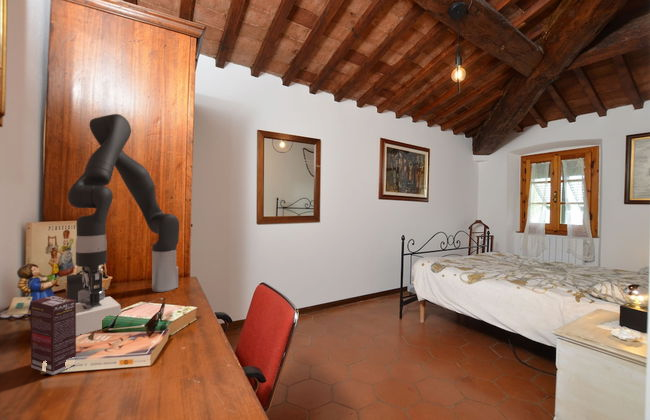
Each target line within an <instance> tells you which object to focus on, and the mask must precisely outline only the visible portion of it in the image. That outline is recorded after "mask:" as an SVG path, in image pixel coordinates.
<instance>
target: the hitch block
mask: <svg viewBox="0 0 650 420" xmlns="http://www.w3.org/2000/svg"><path fill="white" fill-rule="evenodd" d="M121 312H122V307H121V304H120V303H119V302H117V300H115V299H114V298H113V297H111V296H105V298H104V299H103V300H100V303H99V304H98V307H93V308H89V309H85V303H76V337H79V336H81V335H80V334H82V335H84V334H89V333H92V332H93V333H94V332H96V331H99V330H103V329H102V320H103V319H104V318H105V317H106V316H109V315H121V314H122V313H121ZM121 316H122V315H121Z"/></svg>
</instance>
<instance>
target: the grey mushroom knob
mask: <svg viewBox="0 0 650 420" xmlns="http://www.w3.org/2000/svg"><path fill="white" fill-rule="evenodd" d="M95 288H97V286H94V289H95ZM105 292H106V291H105V287H103V286H102V291H101V292H99V296H100V300H103V299H104V298H105V297H106V294H105ZM78 302H79V303H85V309H89V308H93V307H98V305H94V306H91V305H90V293H89V288H86V289H83V290H80V291H79V292H78Z"/></svg>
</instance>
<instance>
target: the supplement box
mask: <svg viewBox="0 0 650 420" xmlns="http://www.w3.org/2000/svg"><path fill="white" fill-rule="evenodd" d="M29 304H30V367H31V368H32V369H35V370H38V371H40V372H42V371H41V370H42V363H43V361H45V360H46V361H47V362H46V363H47V366H46V372H45V373H46V374H48V375H51V376H55V375H57V374H59V373H61V372H64V371H66V370H65V368H66V366H65V362H66V360H67V359H69V358H72V357H75V356H76V357H77V336H76V300H73V299H68V298H67V297H62V296H58V295H50V296H46V297H42V298H38V299H34V300H31V301H30V303H29Z"/></svg>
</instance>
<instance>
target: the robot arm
mask: <svg viewBox="0 0 650 420" xmlns="http://www.w3.org/2000/svg"><path fill="white" fill-rule="evenodd" d="M89 129H90V131H91V134H92V135H93V137H94V139H95V140H96V141H97V144H99V146H98V148H97V149H95V151H94V152H93V153H92V154H91V156H90V157H89V158H88V161H87V162H86V166H85V168H84V172H83V174H82V175H81V176H79V178H78V179H77V180H76V181H75V182H74V183H73V184H72V185H71V187H70V189H69V190H68V194H67V201H68V203H69V204H70V205H71V206H72V207H74V208H77V209H95V211H94V212H93V213H92V214H90V215H83V216H78V218H77V219H76V222H75V223H76V238H75V265H76V267H79V268H81V274H82V280H83V283H82V284H83V285H84V286H83V287H84V288H89V293H90V305H91V306H94V305H98V304H99V303H100V296H99V292H101V291H102V287H103V271H102V270H100V267H99V266H102V265H105V264H107V263H108V244H107V243H108V241H107V232H106V231H107V228H106V227H107V225H106V224H107V217H108V213H109V210H110V208H111V205H112V202H113V198H114V197H113V192H112V190H111V189H110V188H109V187H108V186H107V185H109V184H110V182H111V180H112V177H113V172H114V169H116V170H117V172H118V174H119V175H120V177H121V179H122V181H123V182H124V185H125V186H126V187H127V189H128V191H129V193H130V194H131V195H132V198H133V200H134V201H135V202H136V204H137V206H138V207H139V209H140V212H141V213H142V215H143V217H144V220H145V222H146V225H147V226H148V229H149V230H150V231H151V232H153V233H154V234H156V235H158V238H157V241H156V242H155V243H153V244H152V246H151V247H152V248H151V249H152V250H151V255H152V258H151V260H152V261H151V263H152V265H151V267H152V270H151V274H152V275H151V278H152V279H151V280H152V281H151V282H152V283H151V284H152V285H151V288H152V292H155V293H156V292H157V293H159V292H160V293H161V292H168V291H173V290H175V289H176V288H179V266H177V246H178V243H179V237H180V221H179V219H178V217H177V216H176V215H174V214H171V213H164V211H163V210H162V209H161V208H160V206H159V204H158V202H157V199H156V186H155V182H154V180H153V179H152V177H151V175H150V173H149V171H148V170H147V168H146V167H144V166H143V164H141V163H140V162H137V160H135V159H134V158H132V157H131V156H129V155H127V154H126V153H125V152H124V150H123V149H124V147H125V145H126V144H127V142H128V140H129V139H130V137H131V133H132V128H131V125H130V122H129V121H128V120H127V119H126V117H124V116H123V115H122V114H119V113H113V114H108V115H102V116H100V117H94V118H92V119H91V120H90V121H89ZM94 287H97V288H95V289H94Z"/></svg>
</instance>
